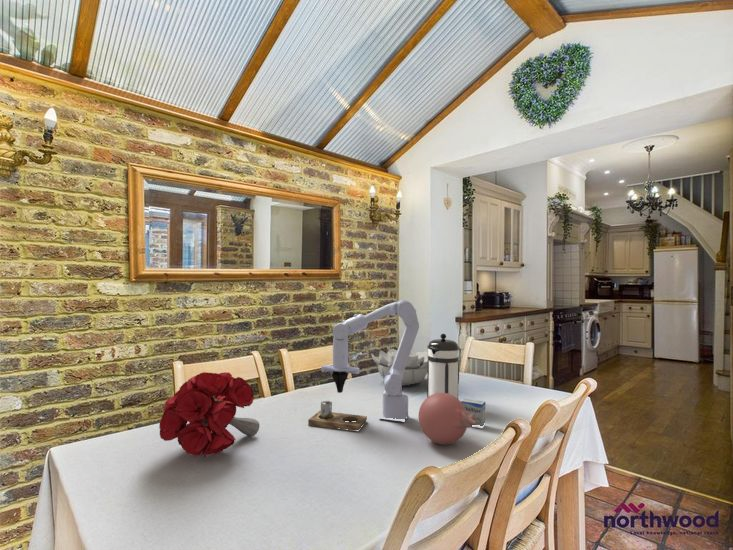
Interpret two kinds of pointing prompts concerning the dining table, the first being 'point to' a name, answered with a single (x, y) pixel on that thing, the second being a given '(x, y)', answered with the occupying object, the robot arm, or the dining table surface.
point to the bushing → (326, 410)
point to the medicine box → (475, 410)
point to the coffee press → (443, 367)
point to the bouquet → (207, 413)
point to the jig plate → (338, 421)
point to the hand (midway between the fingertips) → (340, 391)
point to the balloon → (444, 418)
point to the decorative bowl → (412, 371)
